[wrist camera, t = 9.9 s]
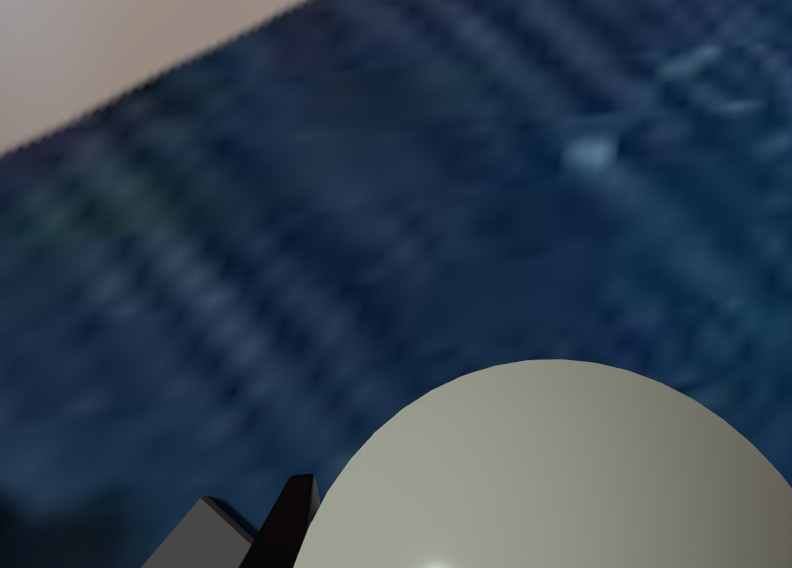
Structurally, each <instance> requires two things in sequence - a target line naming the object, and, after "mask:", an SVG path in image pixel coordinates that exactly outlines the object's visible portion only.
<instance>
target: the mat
mask: <svg viewBox="0 0 792 568" xmlns="http://www.w3.org/2000/svg"><path fill="white" fill-rule="evenodd" d="M253 541H254V539H253V538H252V537H251V536H250V535H249V534H248V533H247V532H246V531H245V530H244V529H243V528H241V527H240V526H239V525H238V524H237V523H236V522H235V521H234V520H233V519H232V518H231V517H229V516H228V515H227V514H226V513H225V512H224V511H223V510H222V509H221V508H220V507H219V506H218V505H216V504H215V503H214V502H213V501H212V500H211V499H210V498H209V497H208V496H205V497H202V498H200V499H199V500H198V502H197V503H196V504H195V505H194V506H193V507H192V509H191V510H190V511H189V512H188V513H187V515H186V516H185V517H184V518H183V519H182V520H181V522H180V523H179V524H178V525H177V526H176V527H175V529H174V530H173V531H172V532H171V533H170V534H169V536H168V537H167V538H166V539H165V540H164V541H163V543H162V544H161V545H160V546H159V547H158V549H157V550H156V551H155V552H154V553H153V554H152V556H151V557H150V558H149V559H148V560H147V561H146V563H145V564H144V565H143V566H142V567H141V568H239V566H240V564H241V562H242V561H243V559H244V557H245V555H246V554H247V552H248V550H249V548H250V546H251V545H252V543H253Z"/></svg>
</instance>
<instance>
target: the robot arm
mask: <svg viewBox="0 0 792 568" xmlns="http://www.w3.org/2000/svg"><path fill="white" fill-rule="evenodd" d="M319 507H320V502H319V496H318V490H317V484H316V479H315V476H314V475H313V474H301V475H294V476H292V477H290V478H289V480H288V481H287V483H286V485H285V487H284V488H283V490H282V492H281V494H280V495H279V497H278V499H277V501H276V503H275V504H274V506H273V508H272V510H271V511H270V513H269V515H268V517H267V518H266V520H265V522H264V524H263V525H262V527H261V529H260V531H259V532H258V534H257V536H256V538H255V539H254V541H253V543H252V545H251V546H250V548H249V550H248V552H247V554H246V555H245V557H244V559H243V561H242V562H241V564H240V566H239V568H293V567H294V564H295V562H296V559H297V557H298V554H299V552H300V549H301V546H302V544H303V541H304V539H305V536H306V533H307V531H308V528H309V526H310V524H311V522H312V521H313V519H314V517H315V515H316V513H317V511H318V509H319Z"/></svg>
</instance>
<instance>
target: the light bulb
mask: <svg viewBox="0 0 792 568" xmlns="http://www.w3.org/2000/svg"><path fill="white" fill-rule="evenodd" d="M293 568H792V488H791V487H790V486H789V484H788V483H787V482H786V480H785V479H784V478H783V477H782V475H781V474H780V473H779V472H778V471H777V470H776V469H775V467H774V466H773V465H772V464H771V463H770V462H769V461H768V460H767V459H766V458H765V457H764V456H763V455H762V454H761V453H760V452H759V451H758V450H757V449H756V447H755V446H754V445H753V444H751V443H750V442H749V441H748V440H747V439H746V438H744V437H743V436H742V435H741V434H740V433H739V432H737V431H736V430H735V429H734V428H733V427H731V426H730V425H729V424H728V423H727V422H726V421H724V420H723V419H722V418H720V417H719V416H717V415H716V414H714V413H713V412H711V411H710V410H708V409H707V408H705V407H704V406H702V405H701V404H699V403H698V402H696V401H695V400H693V399H691V398H689V397H687V396H686V395H684V394H682V393H680V392H678V391H676V390H674V389H672V388H670V387H668V386H666V385H664V384H662V383H660V382H657V381H655V380H652V379H649V378H647V377H644V376H641V375H638V374H636V373H633V372H630V371H627V370H623V369H619V368H615V367H610V366H606V365H602V364H598V363H591V362H581V361H572V360H562V359H560V360H528V361H522V362H516V363H510V364H503V365H497V366H493V367H490V368H487V369H483V370H480V371H477V372H474V373H470V374H467V375H464V376H462V377H459V378H457V379H455V380H453V381H451V382H449V383H446V384H444V385H442V386H440V387H438V388H436V389H434V390H432V391H430V392H429V393H427V394H425V395H424V396H422V397H421V398H419V399H418V400H416V401H414V402H413V403H411V404H410V405H408V406H407V407H405V408H404V409H402V410H401V411H400V412H399V413H397V414H396V415H395V416H394V417H393V418H392V419H390V420H389V421H388V422H387V423H386V424H384V425H383V426H382V427H381V428H380V429H379V430H377V431H376V432H375V433H374V434H373V435H372V436H371V438H370V439H369V440H368V441H367V442H366V443H365V444H364V445H363V446H362V447H361V449H360V450H359V451H358V452H357V453H356V454H355V455H354V456H353V457H352V458H351V460H350V461H349V462H348V464H347V465H346V467H345V468H344V469H343V471H342V472H341V474H340V475H339V477H338V478H337V479H336V481H335V482H334V484H333V485H332V486H331V488H330V489H329V491H328V492H327V494H326V496H325V498H324V500H323V502H322V504H321V506H320V507H319V509H318V511H317V513H316V515H315V517H314V519H313V521H312V522H311V524H310V526H309V528H308V531H307V533H306V536H305V539H304V541H303V544H302V546H301V549H300V552H299V554H298V557H297V559H296V562H295V564H294V567H293Z"/></svg>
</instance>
